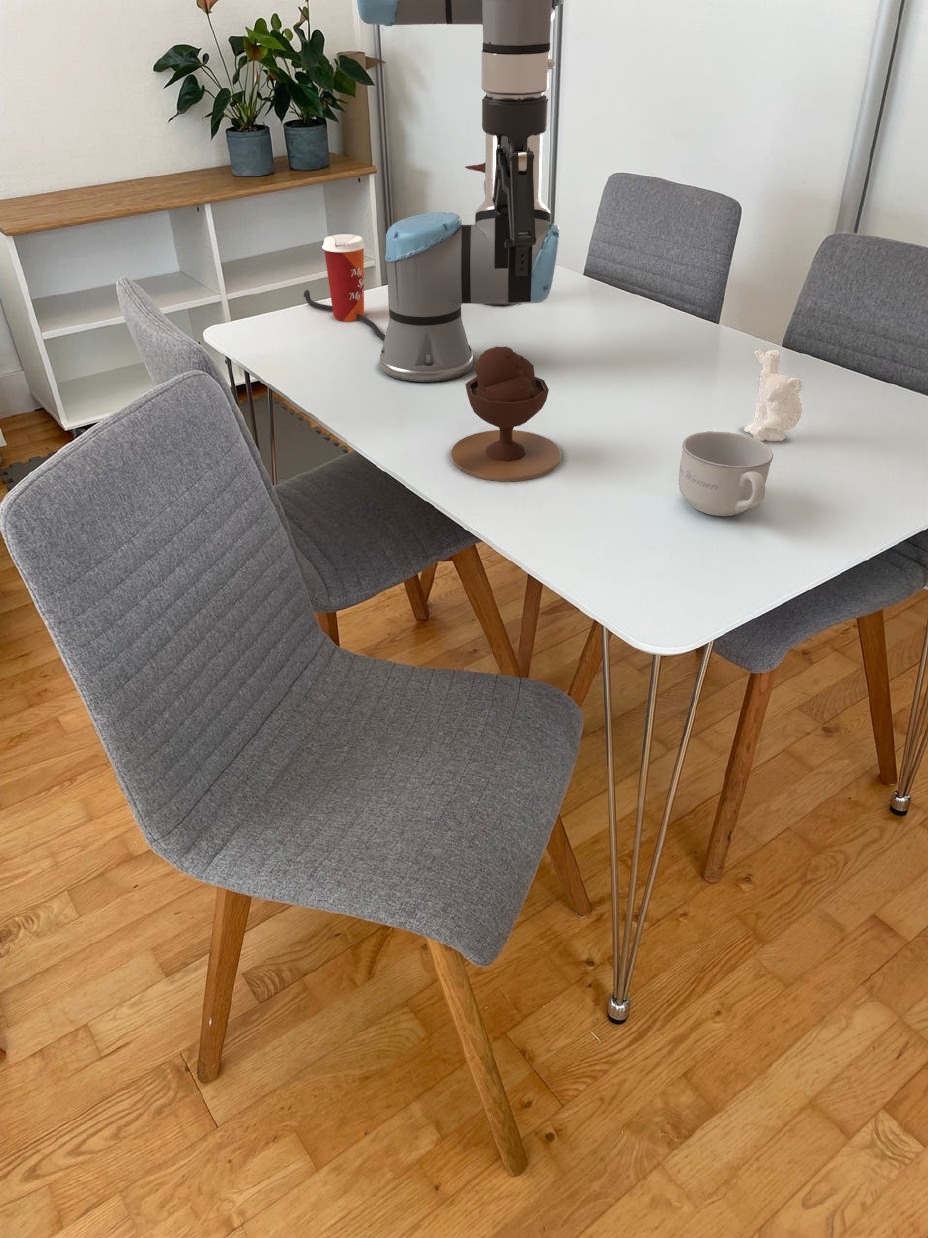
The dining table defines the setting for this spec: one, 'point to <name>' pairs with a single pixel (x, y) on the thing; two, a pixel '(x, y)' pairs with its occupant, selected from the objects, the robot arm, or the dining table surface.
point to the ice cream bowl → (505, 397)
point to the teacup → (723, 472)
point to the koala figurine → (775, 400)
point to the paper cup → (345, 275)
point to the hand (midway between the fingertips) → (511, 283)
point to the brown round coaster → (533, 464)
